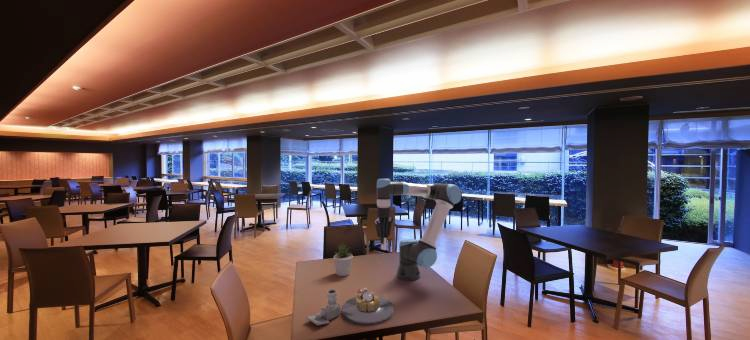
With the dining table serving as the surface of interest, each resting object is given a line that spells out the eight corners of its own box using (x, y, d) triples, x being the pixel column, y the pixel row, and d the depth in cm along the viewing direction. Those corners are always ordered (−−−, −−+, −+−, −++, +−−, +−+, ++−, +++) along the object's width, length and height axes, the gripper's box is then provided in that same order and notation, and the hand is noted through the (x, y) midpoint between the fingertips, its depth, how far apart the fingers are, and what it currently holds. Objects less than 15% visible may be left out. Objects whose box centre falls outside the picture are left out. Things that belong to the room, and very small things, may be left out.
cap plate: (388, 297, 154) (388, 282, 154) (398, 322, 129) (398, 304, 129) (341, 300, 151) (341, 285, 150) (342, 326, 126) (342, 308, 126)
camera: (343, 291, 134) (317, 303, 123) (343, 316, 135) (317, 330, 124) (331, 286, 140) (305, 297, 129) (331, 310, 141) (305, 323, 130)
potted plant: (357, 272, 191) (357, 242, 191) (344, 279, 180) (344, 247, 180) (342, 268, 198) (342, 239, 198) (329, 275, 187) (329, 244, 186)
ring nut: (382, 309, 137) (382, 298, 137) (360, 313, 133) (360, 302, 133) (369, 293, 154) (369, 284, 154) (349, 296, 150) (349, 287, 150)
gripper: (387, 205, 166) (387, 245, 166) (370, 207, 157) (370, 250, 157) (396, 206, 160) (396, 248, 161) (379, 208, 152) (379, 253, 152)
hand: (383, 249), depth 159 cm, fingers closed
